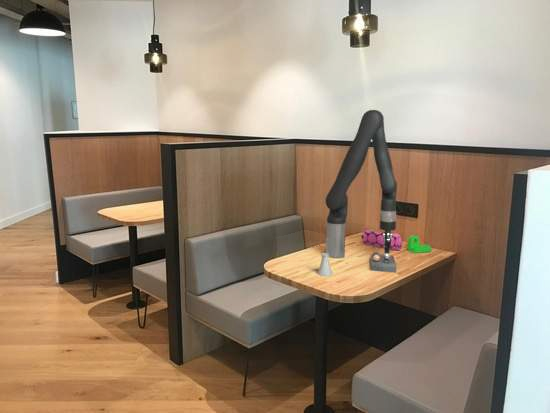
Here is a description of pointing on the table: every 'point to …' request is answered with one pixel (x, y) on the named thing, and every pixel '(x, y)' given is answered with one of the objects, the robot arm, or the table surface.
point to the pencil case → (381, 239)
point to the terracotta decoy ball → (376, 258)
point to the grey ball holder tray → (383, 264)
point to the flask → (325, 266)
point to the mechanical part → (417, 245)
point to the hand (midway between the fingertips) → (386, 254)
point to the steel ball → (386, 255)
